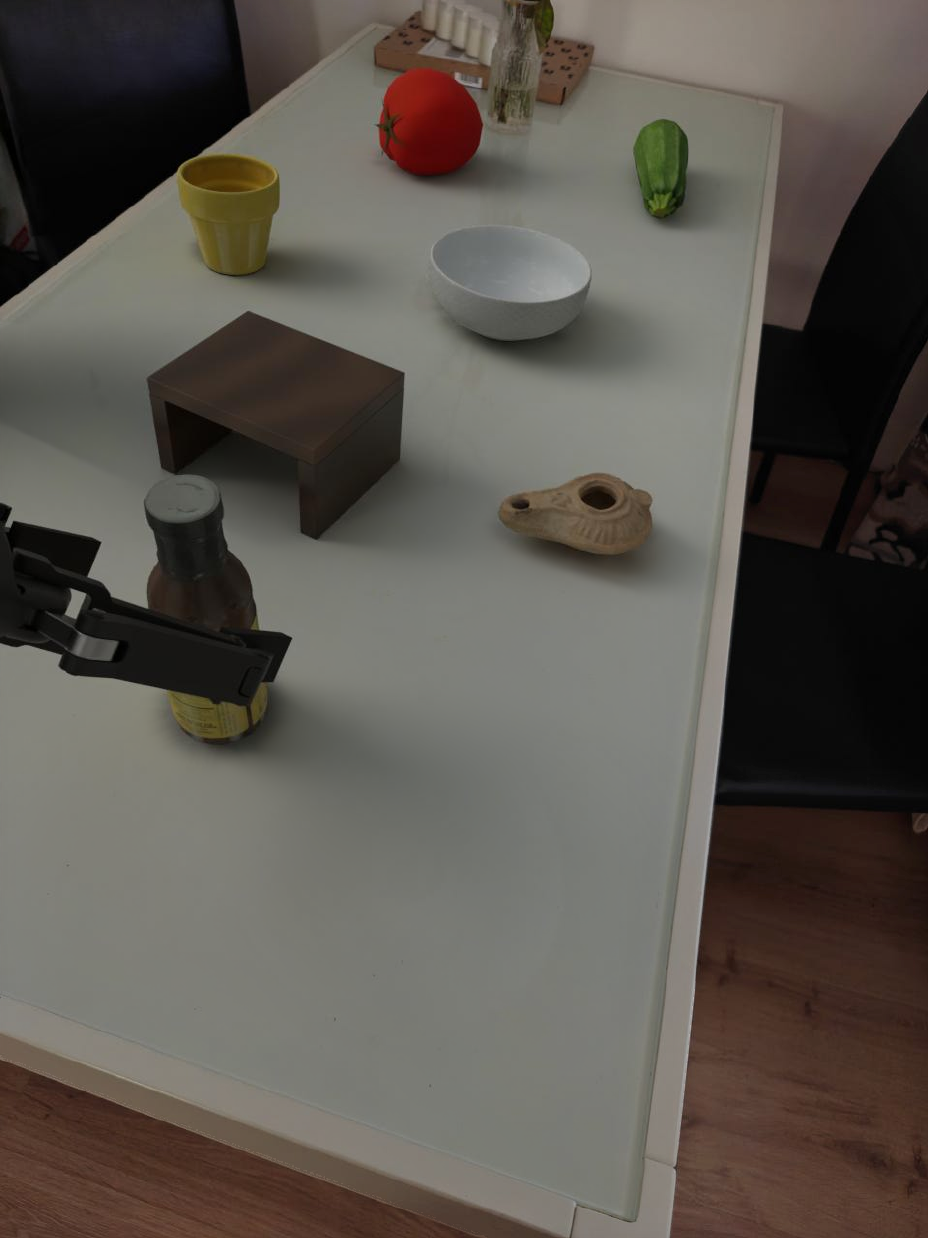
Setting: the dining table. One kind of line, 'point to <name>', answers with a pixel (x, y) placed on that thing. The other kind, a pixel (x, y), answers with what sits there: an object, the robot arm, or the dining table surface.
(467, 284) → the cereal bowl
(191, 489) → the sauce bottle
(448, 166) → the tomato
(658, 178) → the vegetable
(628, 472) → the dining table surface
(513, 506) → the pottery oil lamp
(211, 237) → the flower pot
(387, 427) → the shelf
